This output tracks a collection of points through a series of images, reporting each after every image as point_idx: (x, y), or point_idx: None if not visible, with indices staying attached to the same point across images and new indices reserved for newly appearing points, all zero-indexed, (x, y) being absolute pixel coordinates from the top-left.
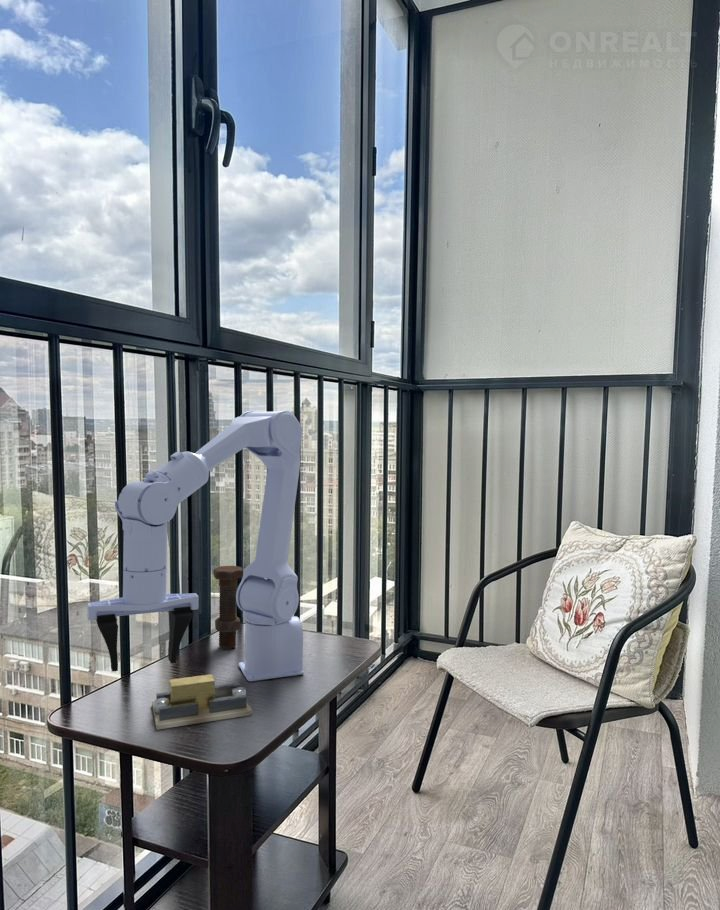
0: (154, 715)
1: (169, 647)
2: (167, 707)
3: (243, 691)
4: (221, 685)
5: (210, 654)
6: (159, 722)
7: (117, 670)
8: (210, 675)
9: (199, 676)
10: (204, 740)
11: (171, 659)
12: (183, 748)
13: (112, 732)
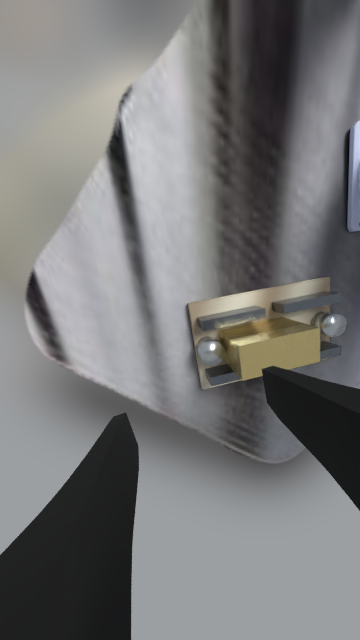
0: (196, 353)
1: (287, 395)
2: (223, 380)
3: (340, 333)
4: (313, 301)
5: (304, 4)
6: (206, 381)
7: (137, 447)
8: (316, 333)
9: (296, 336)
10: (259, 416)
11: (275, 413)
12: (235, 433)
13: (139, 387)
